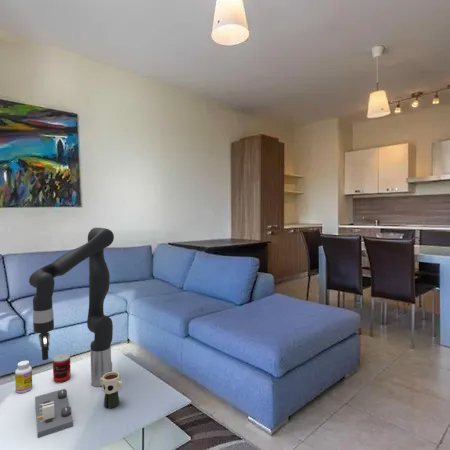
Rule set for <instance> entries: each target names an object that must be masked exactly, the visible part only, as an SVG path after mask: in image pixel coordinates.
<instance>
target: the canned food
mask: <svg viewBox="0 0 450 450" xmlns="http://www.w3.org/2000/svg"><path fill="white" fill-rule="evenodd" d="M52 371H53V373H52V374H53V375H52V376H53V381H54V383H59V384H61V383H64V382H67V381H68V380H70V378H71V374H72V373H71V372H72V371H71V355H70V354H68V353H60V354H57V355H55V356H54V357H53V358H52Z"/></svg>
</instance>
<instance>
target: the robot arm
mask: <svg viewBox="0 0 450 450" xmlns="http://www.w3.org/2000/svg"><path fill="white" fill-rule="evenodd" d="M114 240H115V236H114V232H113V231H112V230H111V229H109V228H104V227H92V228H91V229H90V231H88V235H87V241H86V243H84V244H82V245H80V246H78V247H76V248H73V249H72V250H69V251H67V252H66V253H64V254H62V255H61V256H60V257H58V258H56V259H55V260H53V262H51V263H49V264H47V265H44V266H42V267H41V268H39V269H37V270H35V271H34V272H33V273H31V275H30V276H29V279H28V281H29V282H28V283H29V285H30V286H32V287H33V288H34V289H35V290H36V293H35V295H34V296H33V298H32V327H33V332H34V333H35V334H38V341H39V347H40V348H41V349H40V351H41V359H42V361H47V360H49V350H50V339H51V334H50V331H53V330H54V328H55V318H54V315H55V314H54V308H53V294H54V290H55V278H57V277H62V276H64V275H66V274H67V273H68V272H69V271H71V270H72V269H74V268H75V267H76V266H77V265H79V264H80V263H82V262H83V261H85V260H87V259H88V258H89V262H88V265H89V266H88V267H89V270H88V272H89V273H88V293H89V295H88V312H87V319H86V324H87V325H86V326H87V329H88V330H89V332H91V333H94V337H93V338H94V339H93V340H92V341H91V342H90V373H91V374H90V376H91V377H90V381H91V382H90V383H91V385H92V386H94V387H97V388H98V387H102V385H101V384H100V379H101V378H103V375H104V374H106V373H108V372H113V362H112V341H113V331H114V330H113V329H114V328H113V327H114V325H113V320H112V318H111V317H109V316H108V315H106V314H105V313H104V302H105V299H106V296H107V294H108V293H109V289H110V280H111V279H110V270H109V268H108V265H107V262H106V260H105V253H104V249H106V248H108V247H109V246H111V245H112V244H113V242H114Z"/></svg>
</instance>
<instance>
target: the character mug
mask: <svg viewBox="0 0 450 450" xmlns="http://www.w3.org/2000/svg"><path fill="white" fill-rule="evenodd" d="M120 376H121V375H120V372H118V371H115V370H114V371H113V370H112V372H108V373H106V374H104V375H103V378H101V379H100V384H101V385H102V386H101V388H102V391H103V393H104V400H103V401H104V402H103V404H104V405H103V407H105V408H109V409H110V408H114V407H116V406H117V405H118V404H119V403H120V397H119V390H122V389H123V381H122V380H120V379H121V378H120Z"/></svg>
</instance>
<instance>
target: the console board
mask: <svg viewBox="0 0 450 450" xmlns="http://www.w3.org/2000/svg"><path fill="white" fill-rule="evenodd" d="M67 391H68V390H66V388H63V389H59V390H54V391H52V392H48V393H45V394H40V395H37V396H35V397H34V401H35V404H34V405H35V415H36V417H35V418H36V428H37V429H36V430H37V438H41V437H43V436H48V435H50V434H53V433H57V432H59V431H63V430H65V429H68V428H72V427H74V419H73V415H72V407H71V406H70V402H69V398H68V392H67ZM53 401H54V416H55V417H54V418H51V419H47V420H44V421H43V416H42V404H46V403H49V402H53Z"/></svg>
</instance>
